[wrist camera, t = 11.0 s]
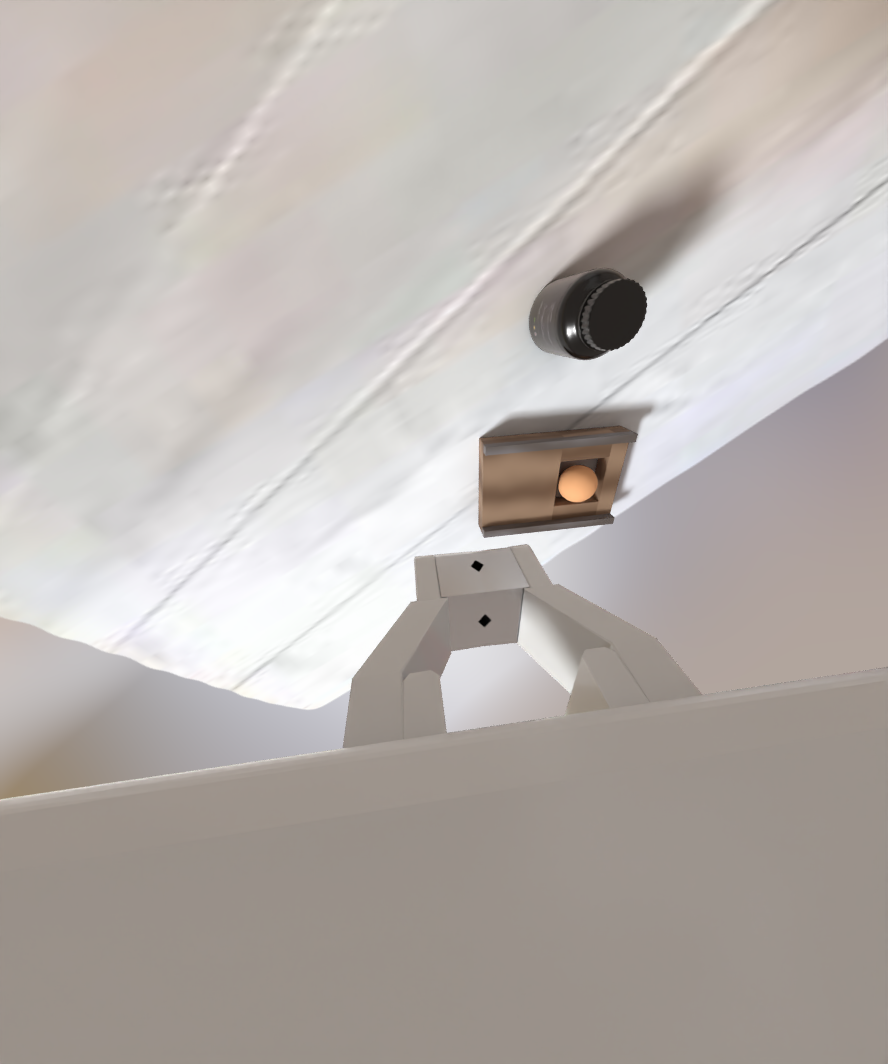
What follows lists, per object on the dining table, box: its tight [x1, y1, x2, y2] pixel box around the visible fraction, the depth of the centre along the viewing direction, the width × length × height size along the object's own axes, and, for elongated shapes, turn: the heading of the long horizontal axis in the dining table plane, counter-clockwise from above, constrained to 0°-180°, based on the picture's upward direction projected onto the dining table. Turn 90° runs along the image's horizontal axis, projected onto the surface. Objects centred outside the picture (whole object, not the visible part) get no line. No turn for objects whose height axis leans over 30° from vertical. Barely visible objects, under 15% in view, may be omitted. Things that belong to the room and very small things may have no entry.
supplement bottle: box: [529, 268, 647, 360], centre depth 31 cm, size 7×7×12 cm
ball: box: [558, 465, 598, 502], centre depth 44 cm, size 5×5×5 cm
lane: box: [479, 426, 638, 538], centre depth 44 cm, size 13×19×4 cm
